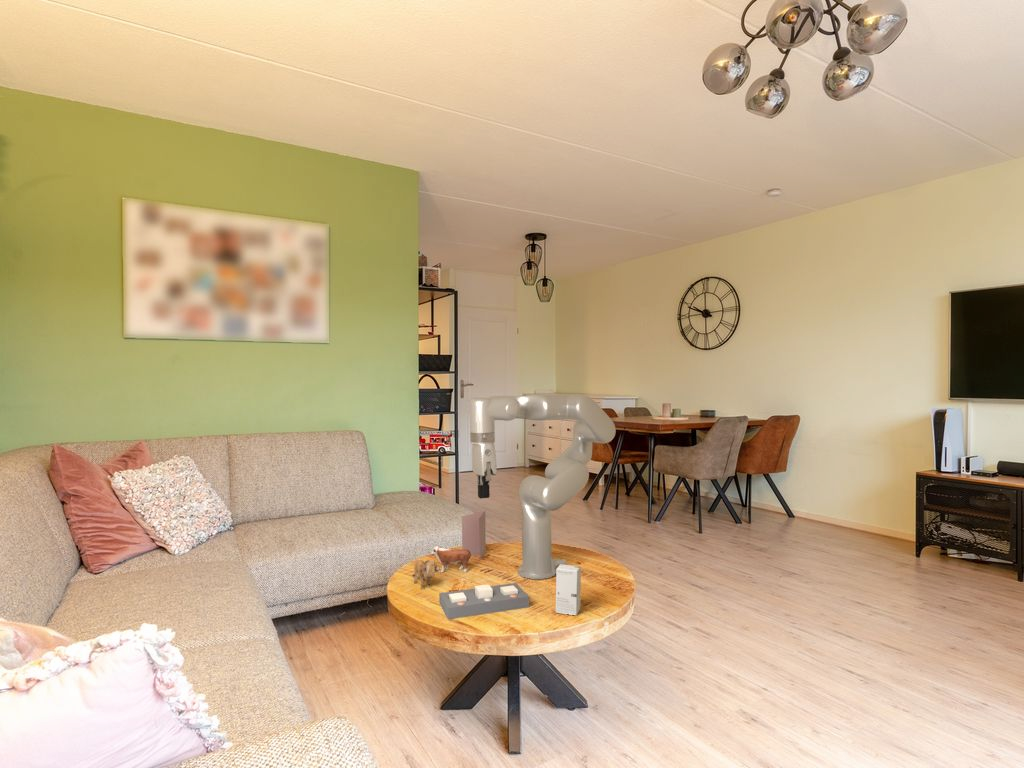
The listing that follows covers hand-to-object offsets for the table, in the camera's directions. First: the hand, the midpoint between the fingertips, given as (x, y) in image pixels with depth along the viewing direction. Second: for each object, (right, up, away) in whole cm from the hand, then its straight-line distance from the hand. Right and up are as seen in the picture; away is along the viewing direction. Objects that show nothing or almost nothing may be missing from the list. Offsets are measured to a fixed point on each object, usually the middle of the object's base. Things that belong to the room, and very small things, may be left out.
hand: (483, 497), depth 173 cm
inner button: (+8, -27, -13) cm, 31 cm away
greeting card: (-3, -27, +28) cm, 39 cm away
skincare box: (+24, -27, -20) cm, 41 cm away
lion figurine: (-18, -28, +1) cm, 33 cm away
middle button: (+1, -26, -15) cm, 30 cm away
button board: (+1, -27, -15) cm, 31 cm away
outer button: (-6, -27, -18) cm, 33 cm away
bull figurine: (-12, -27, +13) cm, 32 cm away
